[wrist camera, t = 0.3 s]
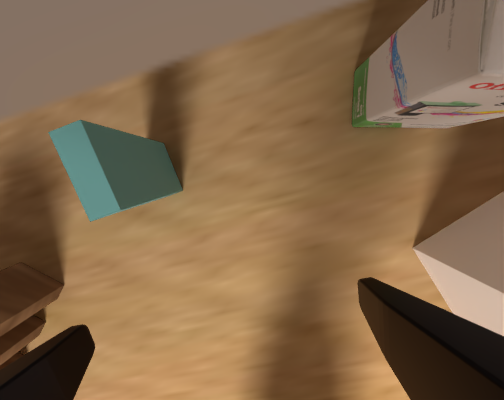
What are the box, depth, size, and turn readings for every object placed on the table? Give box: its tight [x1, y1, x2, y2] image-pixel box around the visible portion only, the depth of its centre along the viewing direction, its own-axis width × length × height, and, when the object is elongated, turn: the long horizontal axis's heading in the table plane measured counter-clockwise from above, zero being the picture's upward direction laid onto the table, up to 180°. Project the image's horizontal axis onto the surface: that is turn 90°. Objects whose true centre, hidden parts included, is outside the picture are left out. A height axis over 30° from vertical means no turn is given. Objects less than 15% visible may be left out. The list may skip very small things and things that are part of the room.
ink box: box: [352, 0, 504, 128], centre depth 14 cm, size 8×5×12 cm, turn 89°
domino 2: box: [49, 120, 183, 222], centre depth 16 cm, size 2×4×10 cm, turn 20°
